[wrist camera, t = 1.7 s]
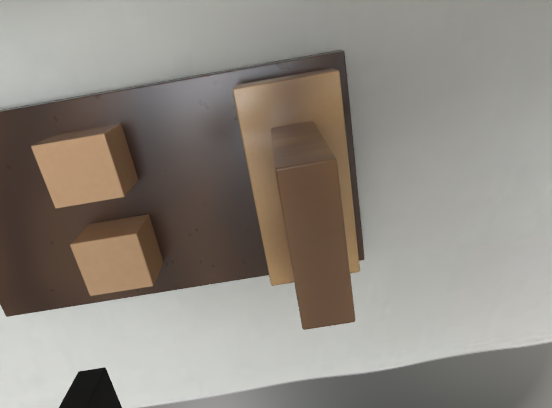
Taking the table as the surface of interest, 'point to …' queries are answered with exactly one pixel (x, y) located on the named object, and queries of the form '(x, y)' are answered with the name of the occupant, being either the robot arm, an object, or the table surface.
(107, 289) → the tan blocky piece
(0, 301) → the board
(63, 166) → the tan boxy piece
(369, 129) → the table surface
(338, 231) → the tan slab with handle
